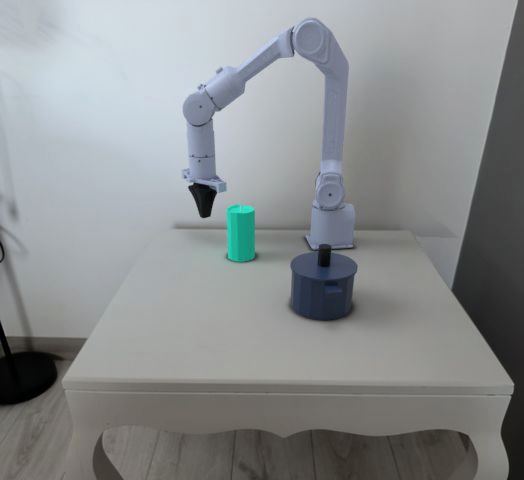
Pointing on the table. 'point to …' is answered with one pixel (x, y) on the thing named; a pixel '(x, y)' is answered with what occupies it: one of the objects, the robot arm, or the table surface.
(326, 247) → the pot lid
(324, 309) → the pot
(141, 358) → the table surface
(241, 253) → the candle
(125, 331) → the table surface
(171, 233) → the table surface
